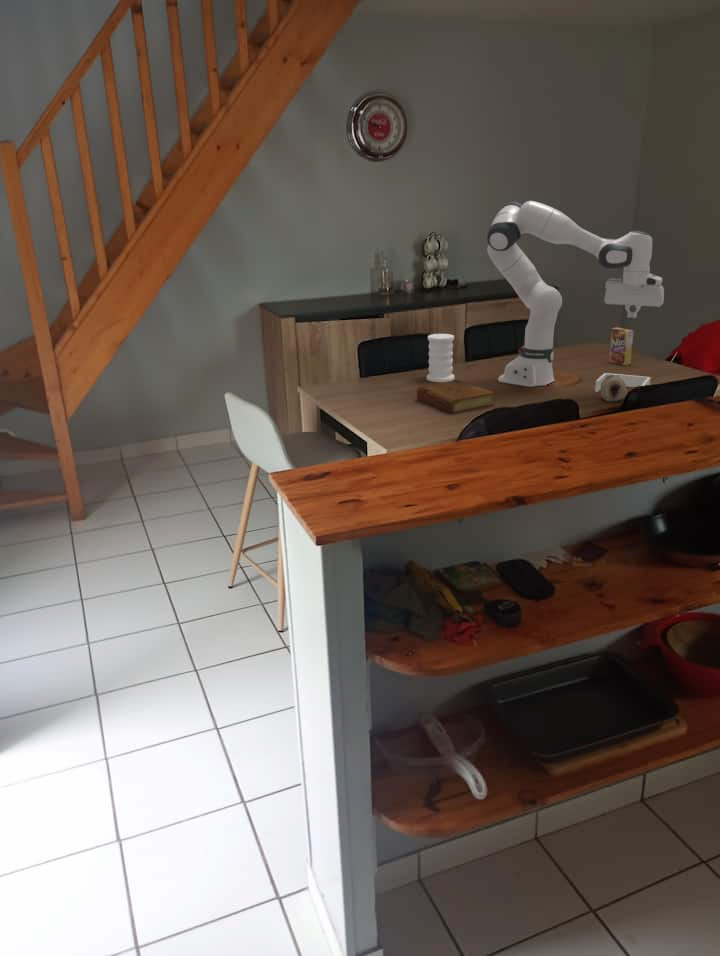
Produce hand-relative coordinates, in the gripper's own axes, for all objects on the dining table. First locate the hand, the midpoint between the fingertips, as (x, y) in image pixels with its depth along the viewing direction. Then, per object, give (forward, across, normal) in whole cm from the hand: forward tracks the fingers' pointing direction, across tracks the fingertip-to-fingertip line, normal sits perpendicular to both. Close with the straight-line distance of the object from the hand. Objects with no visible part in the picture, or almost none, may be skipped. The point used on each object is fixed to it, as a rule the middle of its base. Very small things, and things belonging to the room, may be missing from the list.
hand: (631, 317), depth 271 cm
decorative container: (+29, -74, -5) cm, 80 cm away
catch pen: (+29, -2, +6) cm, 30 cm away
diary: (+30, -54, -36) cm, 71 cm away
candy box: (+29, -13, +51) cm, 60 cm away
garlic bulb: (+29, -2, -8) cm, 31 cm away
